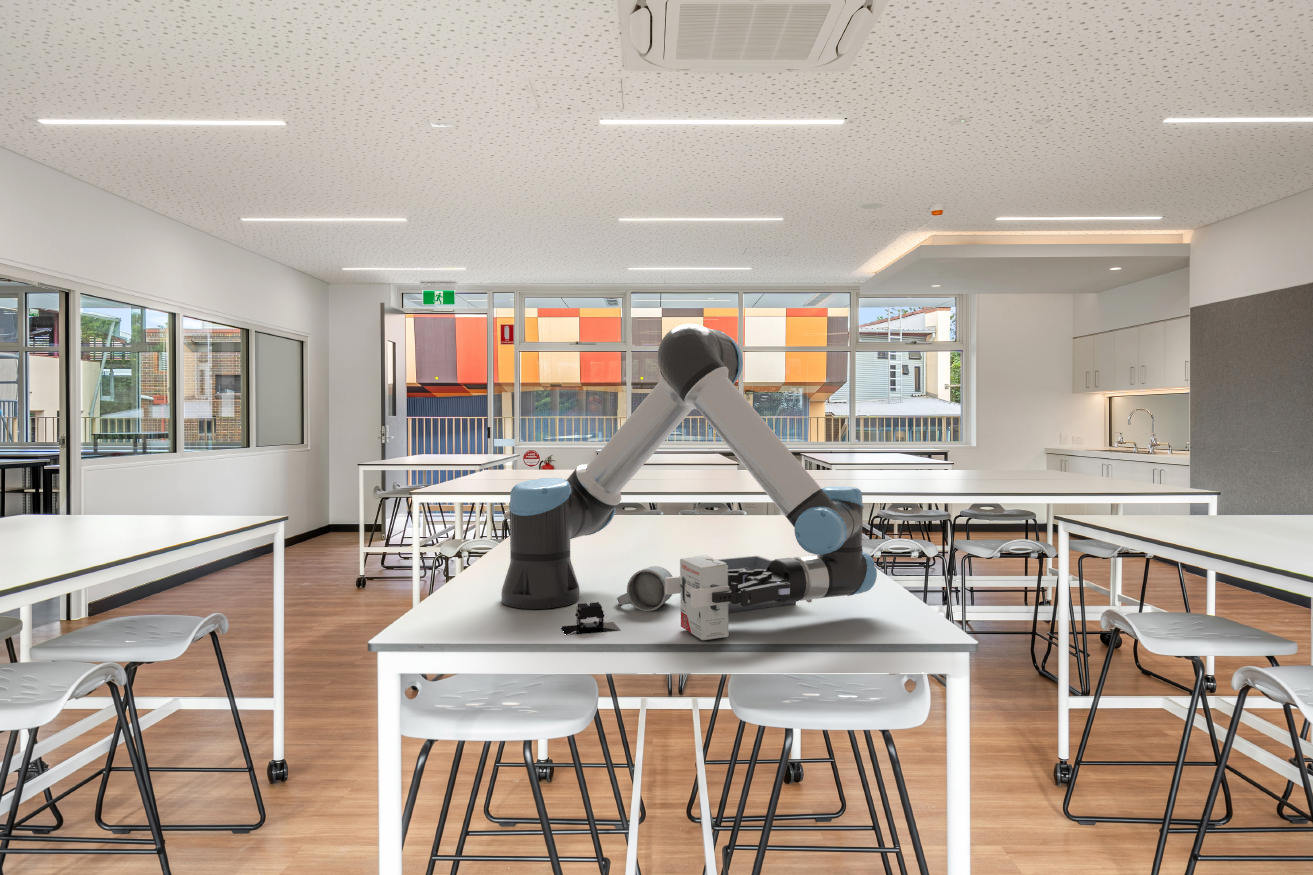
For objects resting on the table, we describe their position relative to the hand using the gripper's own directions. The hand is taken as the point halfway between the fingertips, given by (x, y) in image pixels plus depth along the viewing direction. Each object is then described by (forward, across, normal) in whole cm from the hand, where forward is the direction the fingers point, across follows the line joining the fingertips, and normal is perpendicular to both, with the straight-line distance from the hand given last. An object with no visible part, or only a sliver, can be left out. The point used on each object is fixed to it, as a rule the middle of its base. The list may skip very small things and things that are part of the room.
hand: (678, 592), depth 116 cm
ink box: (-5, 0, -7) cm, 9 cm away
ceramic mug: (-3, +21, -8) cm, 23 cm away
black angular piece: (+11, +12, -8) cm, 18 cm away
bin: (-22, +17, -8) cm, 29 cm away
